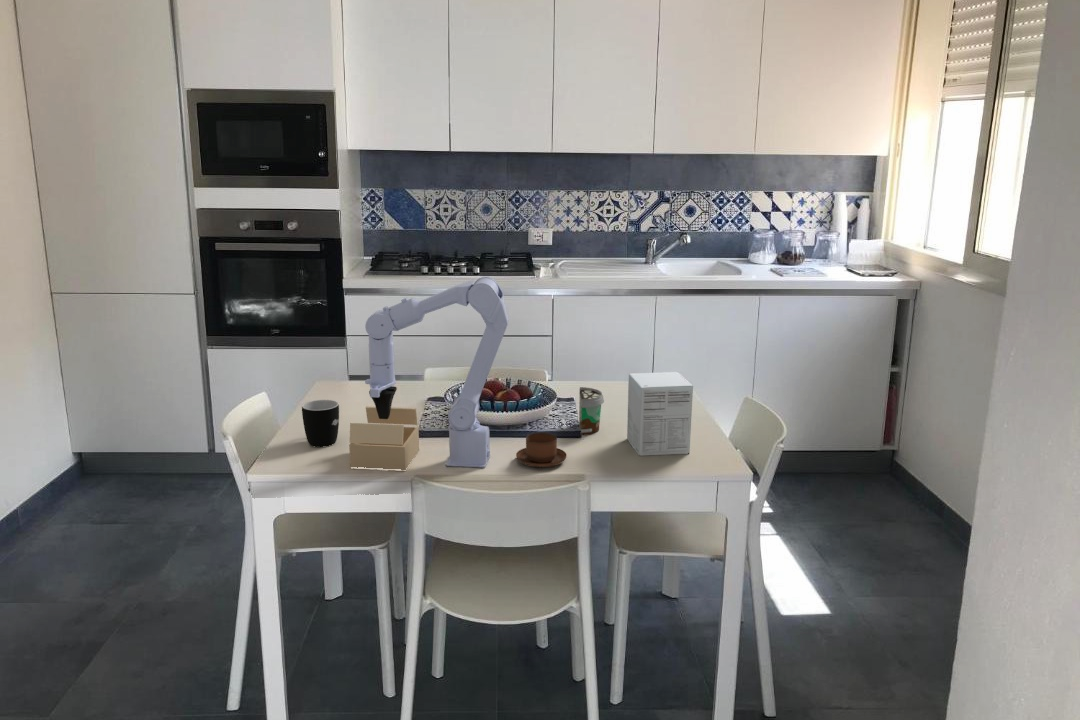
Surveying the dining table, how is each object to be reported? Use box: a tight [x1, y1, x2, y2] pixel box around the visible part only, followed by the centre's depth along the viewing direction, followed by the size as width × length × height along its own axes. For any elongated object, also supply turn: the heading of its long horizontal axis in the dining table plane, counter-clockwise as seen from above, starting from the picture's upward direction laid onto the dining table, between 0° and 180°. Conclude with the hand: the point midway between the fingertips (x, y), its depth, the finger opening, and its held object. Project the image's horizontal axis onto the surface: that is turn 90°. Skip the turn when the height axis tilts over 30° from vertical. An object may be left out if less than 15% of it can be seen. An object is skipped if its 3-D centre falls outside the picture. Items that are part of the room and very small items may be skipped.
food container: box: [578, 386, 605, 436], centre depth 237 cm, size 12×6×10 cm, turn 0°
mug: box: [301, 399, 340, 448], centre depth 227 cm, size 12×9×10 cm
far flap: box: [365, 406, 419, 426], centre depth 220 cm, size 12×4×1 cm
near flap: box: [349, 422, 405, 445], centre depth 207 cm, size 12×4×1 cm
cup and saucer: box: [515, 432, 567, 468], centre depth 214 cm, size 12×12×6 cm
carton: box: [348, 426, 420, 471], centre depth 215 cm, size 13×14×6 cm
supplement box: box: [626, 371, 694, 457], centre depth 224 cm, size 13×13×18 cm
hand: (384, 418), depth 213 cm, fingers closed
